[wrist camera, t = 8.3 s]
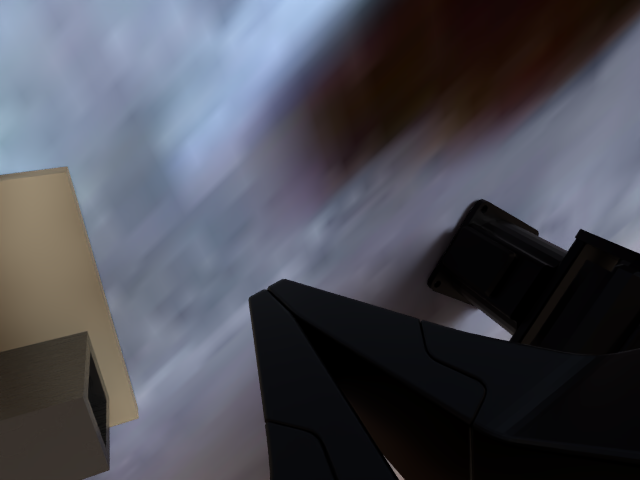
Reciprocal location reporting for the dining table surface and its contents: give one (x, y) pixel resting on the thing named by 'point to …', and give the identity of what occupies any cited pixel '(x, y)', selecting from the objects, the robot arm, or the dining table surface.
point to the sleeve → (53, 411)
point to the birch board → (55, 278)
